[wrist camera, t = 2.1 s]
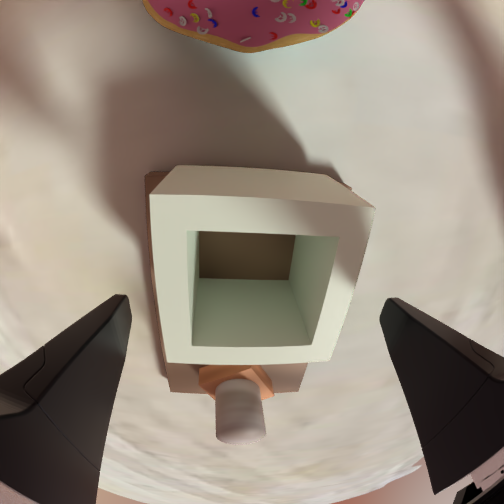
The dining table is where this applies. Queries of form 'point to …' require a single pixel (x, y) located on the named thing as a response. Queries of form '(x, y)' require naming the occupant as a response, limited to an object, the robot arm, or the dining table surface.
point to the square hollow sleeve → (256, 291)
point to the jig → (233, 376)
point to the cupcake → (252, 20)
